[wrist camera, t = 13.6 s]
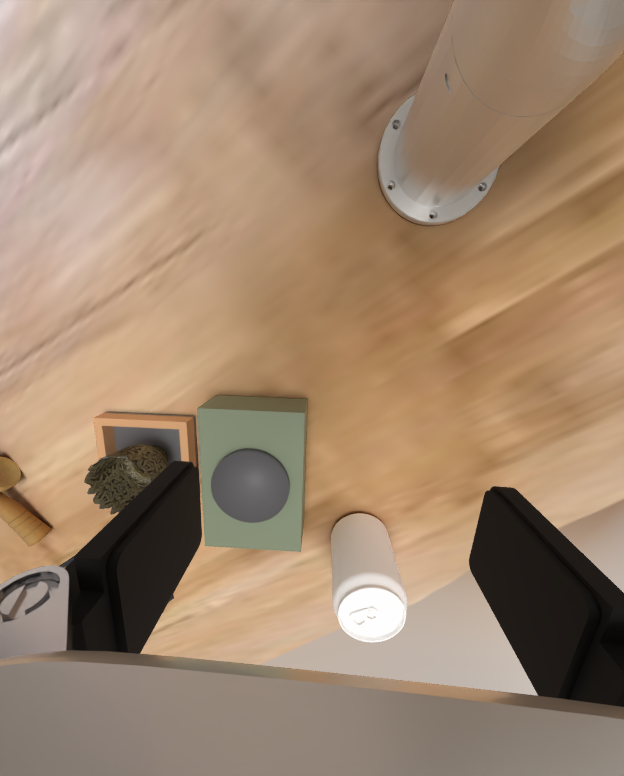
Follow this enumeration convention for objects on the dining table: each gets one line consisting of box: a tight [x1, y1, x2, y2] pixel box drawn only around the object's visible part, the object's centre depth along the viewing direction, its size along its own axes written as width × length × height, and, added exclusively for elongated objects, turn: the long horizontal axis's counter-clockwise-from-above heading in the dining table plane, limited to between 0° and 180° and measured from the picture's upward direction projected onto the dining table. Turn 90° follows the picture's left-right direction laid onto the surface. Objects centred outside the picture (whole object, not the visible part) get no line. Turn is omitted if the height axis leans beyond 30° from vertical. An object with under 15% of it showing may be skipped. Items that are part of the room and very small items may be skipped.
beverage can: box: [331, 513, 407, 642], centre depth 37 cm, size 8×8×12 cm
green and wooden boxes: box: [93, 395, 308, 552], centre depth 37 cm, size 18×27×7 cm, turn 88°
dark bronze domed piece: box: [84, 444, 168, 514], centre depth 37 cm, size 8×7×8 cm
